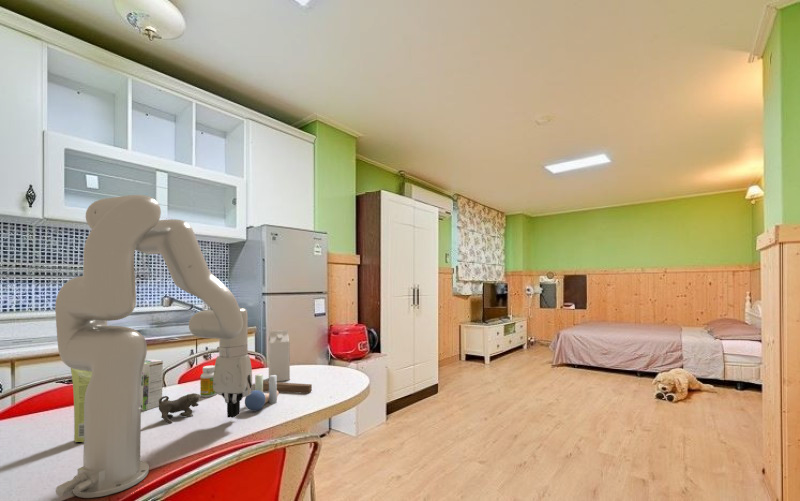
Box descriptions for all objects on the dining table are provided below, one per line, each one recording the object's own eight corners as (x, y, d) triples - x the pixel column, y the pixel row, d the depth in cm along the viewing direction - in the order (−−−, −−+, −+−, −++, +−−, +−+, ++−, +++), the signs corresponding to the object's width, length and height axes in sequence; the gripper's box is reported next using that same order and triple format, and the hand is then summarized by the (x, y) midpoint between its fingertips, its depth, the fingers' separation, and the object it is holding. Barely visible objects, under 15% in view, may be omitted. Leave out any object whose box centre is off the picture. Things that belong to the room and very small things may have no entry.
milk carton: (268, 378, 155) (268, 330, 156) (286, 375, 158) (286, 328, 159) (270, 382, 149) (270, 332, 150) (289, 380, 152) (289, 331, 153)
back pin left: (260, 402, 126) (260, 376, 127) (253, 402, 127) (253, 376, 127) (264, 400, 129) (264, 374, 129) (258, 399, 129) (258, 374, 130)
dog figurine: (163, 426, 109) (163, 399, 109) (154, 421, 112) (154, 395, 113) (206, 412, 119) (206, 388, 119) (197, 408, 122) (197, 384, 122)
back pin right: (274, 403, 125) (274, 377, 126) (267, 403, 126) (267, 376, 126) (278, 401, 128) (278, 375, 128) (271, 400, 128) (271, 374, 129)
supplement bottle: (210, 397, 132) (210, 368, 133) (196, 397, 133) (196, 368, 134) (220, 392, 138) (221, 365, 138) (207, 392, 139) (207, 364, 139)
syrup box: (133, 408, 123) (133, 362, 124) (151, 402, 128) (152, 358, 129) (144, 411, 121) (145, 363, 121) (163, 405, 126) (163, 359, 127)
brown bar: (309, 393, 135) (309, 386, 135) (258, 390, 140) (258, 383, 140) (311, 391, 137) (311, 384, 137) (261, 388, 142) (261, 381, 142)
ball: (272, 395, 123) (263, 414, 120) (256, 390, 125) (247, 409, 122) (262, 390, 118) (253, 411, 115) (246, 385, 120) (237, 405, 117)
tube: (84, 434, 104) (86, 360, 105) (105, 433, 104) (106, 360, 105) (68, 444, 98) (70, 366, 99) (90, 443, 99) (91, 365, 100)
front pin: (264, 398, 124) (279, 390, 132) (258, 397, 125) (272, 388, 133) (263, 406, 124) (278, 397, 132) (257, 404, 125) (271, 395, 133)
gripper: (202, 353, 110) (201, 418, 110) (248, 355, 107) (248, 423, 106) (220, 347, 118) (219, 409, 117) (264, 349, 114) (264, 413, 113)
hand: (233, 415), depth 112 cm, fingers closed
